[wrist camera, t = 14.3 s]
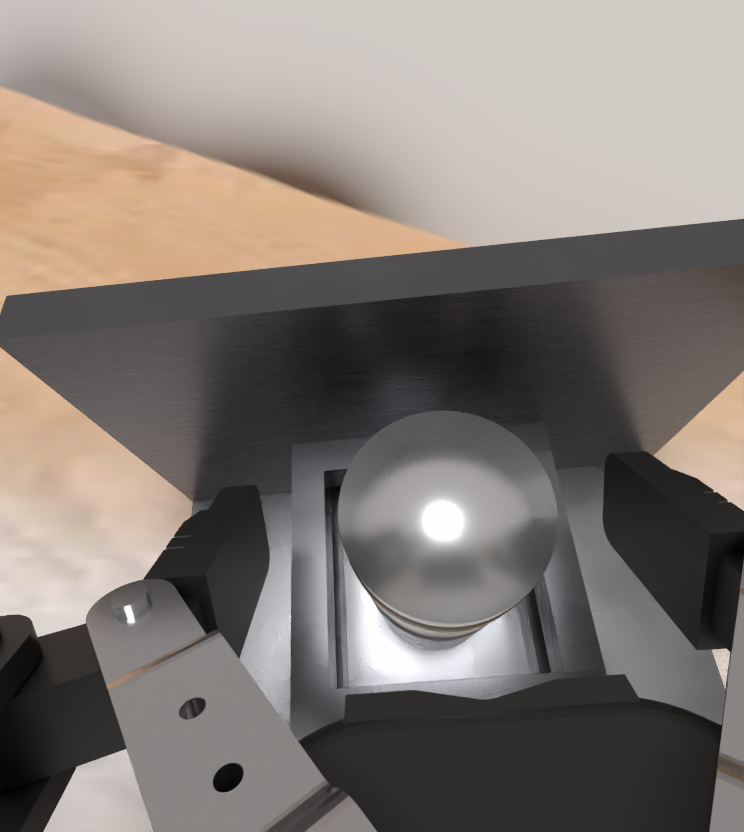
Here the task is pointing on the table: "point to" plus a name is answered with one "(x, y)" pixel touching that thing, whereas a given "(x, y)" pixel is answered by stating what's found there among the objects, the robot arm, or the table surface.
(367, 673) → the collar stand
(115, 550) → the table surface
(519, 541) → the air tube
